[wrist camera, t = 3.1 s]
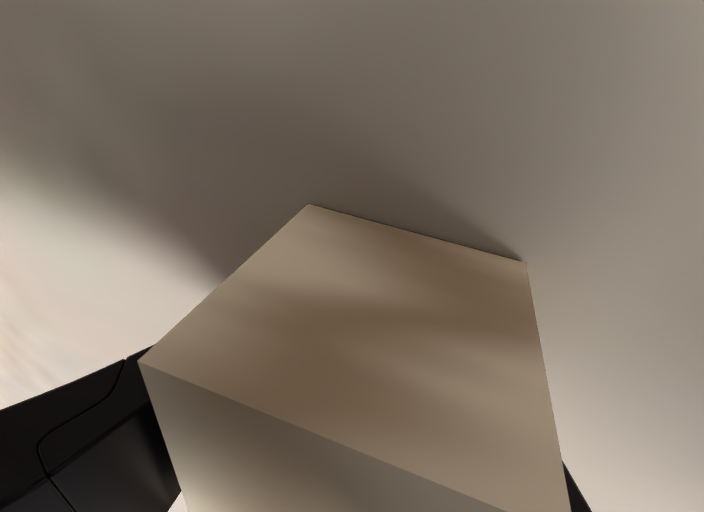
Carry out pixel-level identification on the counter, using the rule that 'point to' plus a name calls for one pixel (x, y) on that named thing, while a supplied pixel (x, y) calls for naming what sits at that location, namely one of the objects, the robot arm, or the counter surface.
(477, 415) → the maple cube
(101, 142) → the counter surface
